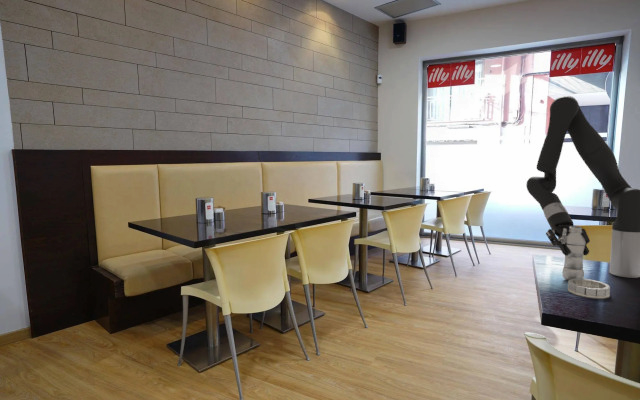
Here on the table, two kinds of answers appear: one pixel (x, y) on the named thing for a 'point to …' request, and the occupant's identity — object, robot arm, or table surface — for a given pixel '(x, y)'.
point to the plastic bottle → (574, 254)
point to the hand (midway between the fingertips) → (577, 254)
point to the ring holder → (589, 288)
